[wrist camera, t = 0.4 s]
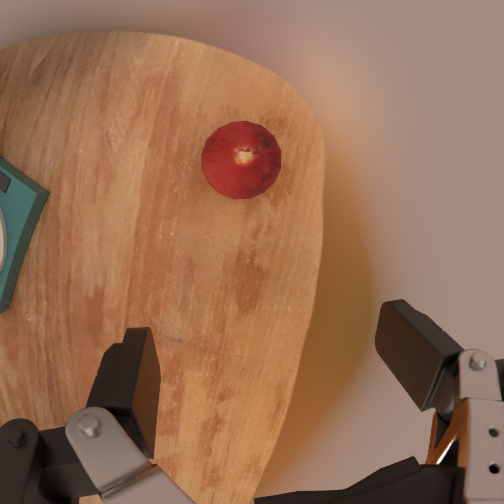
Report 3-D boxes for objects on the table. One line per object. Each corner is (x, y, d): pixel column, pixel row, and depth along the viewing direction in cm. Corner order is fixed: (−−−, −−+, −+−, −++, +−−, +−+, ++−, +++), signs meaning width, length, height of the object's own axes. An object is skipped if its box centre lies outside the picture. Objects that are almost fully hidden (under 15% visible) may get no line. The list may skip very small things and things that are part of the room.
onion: (255, 120, 26) (270, 95, 18) (283, 179, 27) (308, 177, 19) (193, 148, 26) (183, 132, 18) (221, 208, 27) (223, 217, 19)
